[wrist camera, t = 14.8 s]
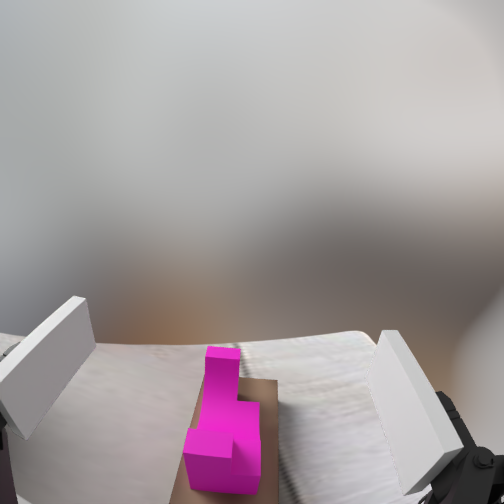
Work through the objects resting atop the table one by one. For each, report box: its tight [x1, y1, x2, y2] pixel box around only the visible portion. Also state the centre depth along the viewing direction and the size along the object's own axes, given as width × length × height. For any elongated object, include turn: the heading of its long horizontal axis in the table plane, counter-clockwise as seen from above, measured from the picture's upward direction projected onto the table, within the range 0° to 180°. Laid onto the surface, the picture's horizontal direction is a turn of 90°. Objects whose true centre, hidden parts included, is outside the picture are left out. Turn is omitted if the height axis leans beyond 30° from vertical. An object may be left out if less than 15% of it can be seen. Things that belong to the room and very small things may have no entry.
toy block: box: [183, 346, 261, 495], centre depth 27 cm, size 15×6×8 cm, turn 179°
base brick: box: [169, 375, 279, 504], centre depth 28 cm, size 10×22×4 cm, turn 177°
